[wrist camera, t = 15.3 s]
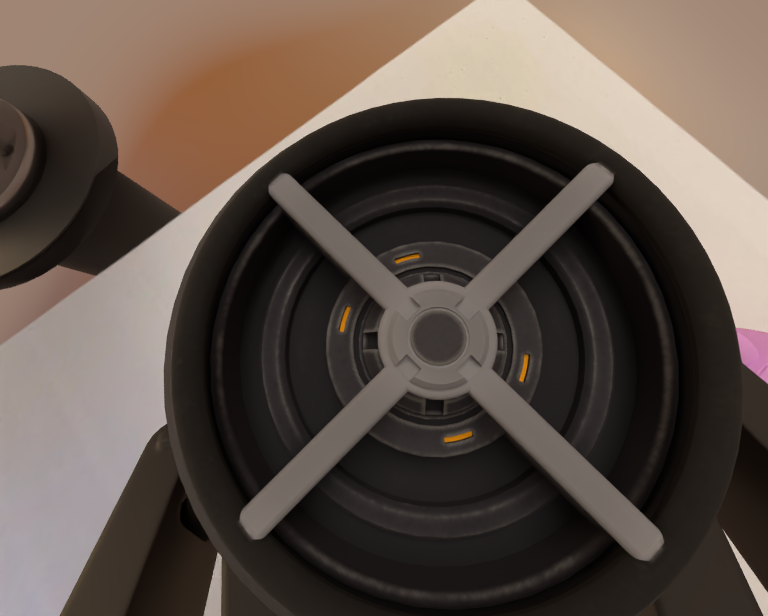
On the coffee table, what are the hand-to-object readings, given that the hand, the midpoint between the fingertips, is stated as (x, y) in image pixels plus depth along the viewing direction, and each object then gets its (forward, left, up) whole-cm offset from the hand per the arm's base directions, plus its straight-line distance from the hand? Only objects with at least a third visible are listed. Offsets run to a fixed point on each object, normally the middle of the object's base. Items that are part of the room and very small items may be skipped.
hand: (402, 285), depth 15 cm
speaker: (+3, -2, -7) cm, 8 cm away
